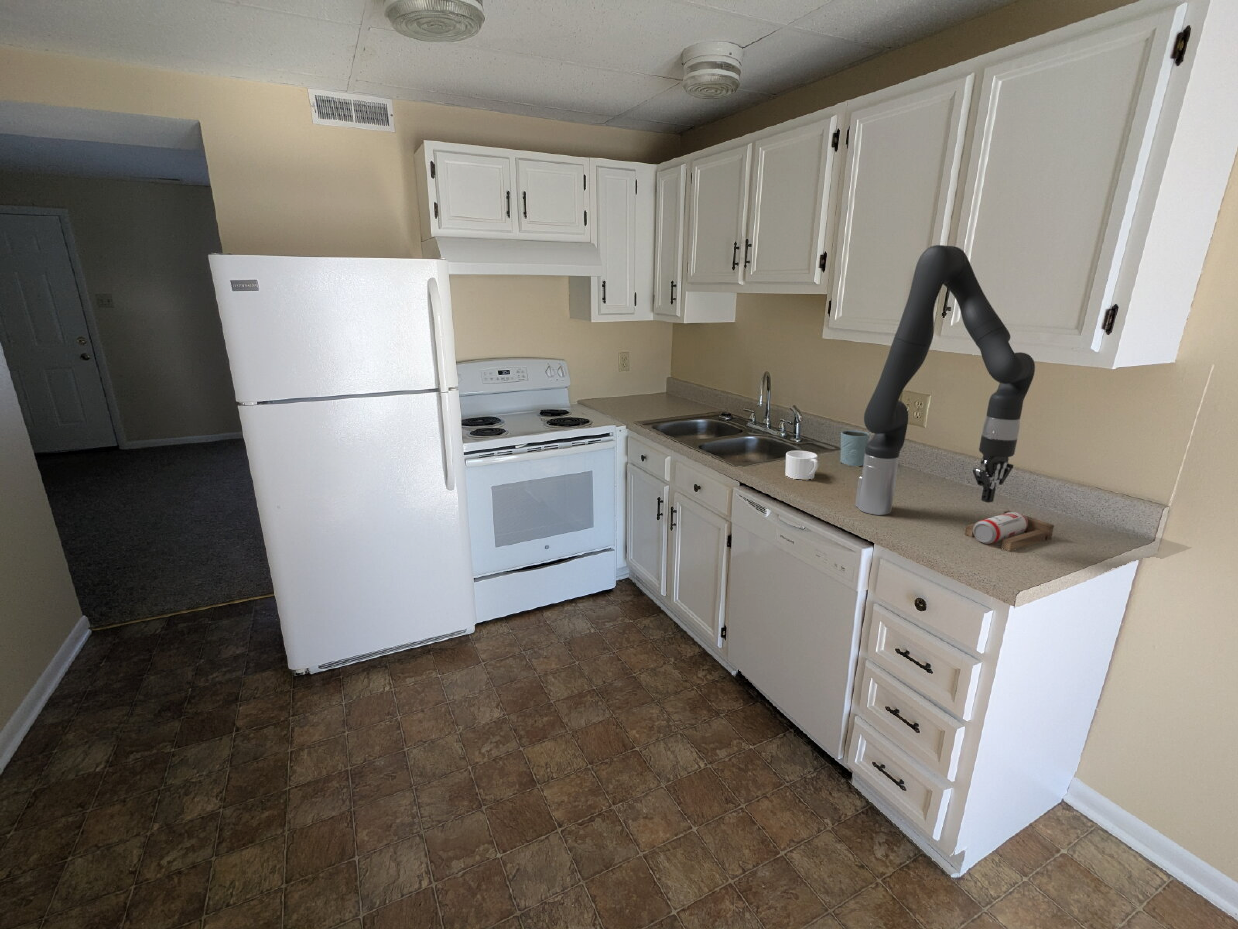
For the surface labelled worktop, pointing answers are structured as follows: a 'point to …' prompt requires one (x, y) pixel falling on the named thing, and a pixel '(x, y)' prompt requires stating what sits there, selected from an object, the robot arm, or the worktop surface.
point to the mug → (801, 464)
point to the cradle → (1033, 534)
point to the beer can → (1000, 527)
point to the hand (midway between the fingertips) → (986, 501)
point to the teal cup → (853, 447)
